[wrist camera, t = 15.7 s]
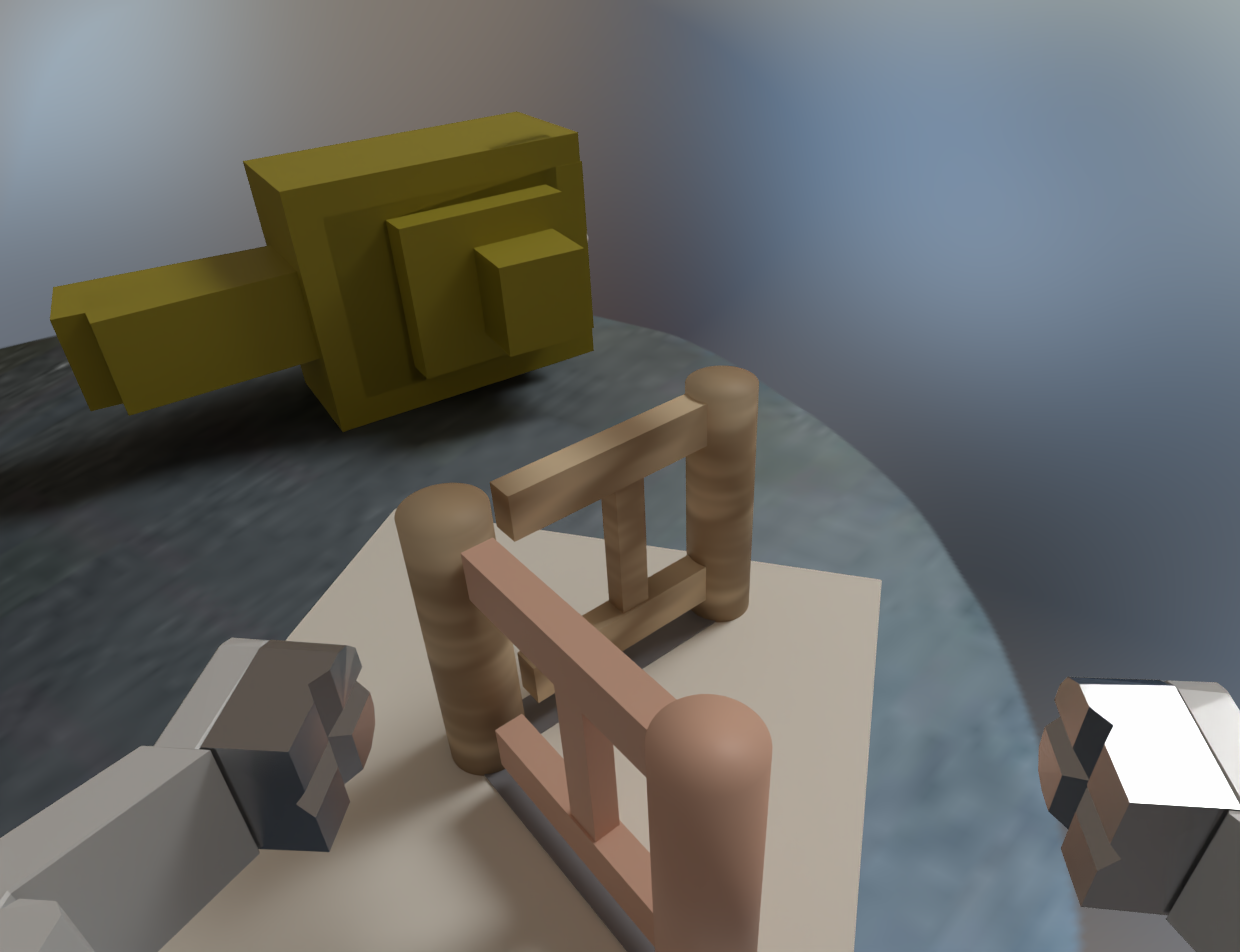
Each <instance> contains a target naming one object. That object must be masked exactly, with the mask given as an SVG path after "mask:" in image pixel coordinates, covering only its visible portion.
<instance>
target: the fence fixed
mask: <svg viewBox="0 0 1240 952" xmlns="http://www.w3.org/2000/svg"><path fill="white" fill-rule="evenodd" d="M758 392H759V381H758V379H757V377H756V376H755V375H754V374H752V373H751V372H749V371H747V370H745V369H742V368H738V367H732V366H712V367H706V368H702V369H699V370H697V371H695V372H693V373H691V374H690V375H689V376H688V377H687V379H686V381H685V394H684V395H682V396H679V397H677V398H675V399H673V400H671V401H668V402H666V403H664V404H662V405H659V406H657V407H655V408H653V409H651V410H648V411H646V412H644V413H642V414H640V415H637V416H635V417H633V418H631V419H628V420H626V421H624V422H622V423H620V424H617V425H615V426H613V427H611V428H609V429H606V430H604V431H602V432H600V433H597V434H595V435H593V436H591V437H589V438H586V439H584V440H582V441H580V442H578V443H575V444H573V445H571V446H569V447H566V448H564V449H562V450H560V451H558V452H555V453H553V454H551V455H549V456H547V457H544V458H542V459H540V460H538V461H535V462H533V463H531V464H529V465H527V466H524V467H522V468H520V469H518V470H516V471H513V472H511V473H509V474H507V475H504V476H502V477H500V478H498V479H496V480H493V481H491V482H490V486H491V493H492V499H493V505H494V511H495V517H496V524H497V527H498V528H499V529H500V530H501V531H502V532H504V533H505V534H506V535H507V536H508V537H509V538H511V539H512V540H513V541H514V542H516V541H518V540H520V539H522V538H524V537H526V536H528V535H530V534H532V533H534V532H536V531H538V530H540V529H542V528H544V527H546V526H548V525H550V524H552V523H554V522H556V521H558V520H560V519H562V518H564V517H566V516H568V515H570V514H572V513H574V512H576V511H578V510H580V509H582V508H584V507H586V506H588V505H590V504H592V503H594V502H596V501H598V500H600V499H601V500H602V513H603V527H604V540H605V553H606V567H607V580H608V593H609V600H608V601H606V602H605V603H603V604H601V605H599V606H598V607H596V608H594V609H592V610H591V611H589V612H587V613H585V614H584V615H582V617H584V618H585V619H586V620H587V621H588V622H589V623H590V624H592V625H593V626H594V627H595V628H596V629H597V630H598V631H599V632H601V633H602V634H603V635H604V636H605V637H606V638H607V639H609V640H610V641H611V642H612V643H613V644H614V645H615V646H617V647H618V648H619V649H620V650H621V651H624V650H625V649H627V648H629V647H630V646H632V645H634V644H635V643H637V642H638V641H640V640H642V639H643V638H645V637H647V636H648V635H650V634H651V633H653V632H655V631H656V630H658V629H659V628H661V627H663V626H664V625H666V624H668V623H669V622H671V621H672V620H674V619H676V618H677V617H679V616H681V615H682V614H684V613H685V612H687V611H689V610H690V609H691V610H692V611H693V612H694V613H695V614H697V615H698V616H700V617H702V618H705V619H708V620H713V621H716V622H728V621H732V620H735V619H737V618H739V617H740V616H742V615H743V614H744V613H745V612H746V610H747V608H748V605H749V590H750V568H751V546H752V524H753V502H754V480H755V458H756V436H757V414H758ZM684 457H686V540H687V555H686V556H685V557H683V558H681V559H679V560H678V561H676V562H674V563H673V564H671V565H669V566H667V567H666V568H664V569H662V570H660V571H659V572H657V573H655V574H653V575H652V576H650V577H648V574H647V549H646V525H645V500H644V477H646V476H648V475H650V474H652V473H654V472H656V471H658V470H660V469H662V468H664V467H666V466H668V465H670V464H672V463H674V462H676V461H678V460H680V459H682V458H684ZM394 520H395V524H396V528H397V532H398V536H399V541H400V545H401V549H402V553H403V557H404V561H405V565H406V569H407V573H408V578H409V582H410V586H411V590H412V594H413V598H414V602H415V606H416V611H417V615H418V619H419V623H420V627H421V631H422V635H423V639H424V643H425V648H426V652H427V656H428V660H429V664H430V668H431V672H432V676H433V681H434V685H435V689H436V693H437V697H438V701H439V705H440V709H441V714H442V718H443V722H444V726H445V730H446V734H447V738H448V742H449V746H450V751H451V755H452V758H453V760H454V762H455V763H456V765H457V766H458V767H459V768H460V769H462V770H463V771H465V772H467V773H470V774H473V775H479V776H484V774H491V773H496V772H499V771H502V770H504V769H505V768H504V767H503V765H502V763H501V758H500V753H499V748H498V743H497V738H496V733H495V730H496V729H498V728H499V727H501V726H503V725H504V724H506V723H508V722H509V721H511V720H512V719H514V718H516V717H517V716H519V715H521V714H523V715H524V716H525V714H524V708H523V702H522V696H521V689H520V683H519V677H518V671H517V665H516V659H515V653H514V647H513V643H512V642H511V641H510V640H509V639H508V638H507V637H506V636H505V635H504V634H503V633H502V632H501V631H500V630H499V629H498V628H497V627H496V626H495V625H494V624H493V623H492V622H491V621H490V620H489V619H488V618H487V617H486V616H485V615H484V614H483V613H482V612H481V611H480V610H479V609H478V608H477V607H476V606H475V605H474V604H473V603H472V602H471V601H470V599H469V594H468V589H467V584H466V579H465V573H464V568H463V563H462V558H461V553H462V552H464V551H466V550H468V549H470V548H472V547H474V546H476V545H478V544H480V543H482V542H484V541H486V540H488V539H490V538H494V539H495V540H496V537H495V531H494V524H493V518H492V512H491V506H490V500H489V498H488V496H487V495H486V493H484V492H483V491H482V490H481V489H479V488H477V487H475V486H472V485H468V484H463V483H443V484H437V485H433V486H429V487H426V488H423V489H421V490H418V491H416V492H414V493H413V494H411V495H410V496H408V497H407V498H406V499H404V500H403V501H402V502H401V503H400V505H399V506H398V508H397V509H396V512H395V516H394ZM517 654H518V660H519V666H520V673H521V679H522V685H523V687H524V688H525V689H526V690H527V691H528V692H529V693H530V695H531V696H532V697H533V698H534V699H535V700H536V701H537V702H538V703H540V702H541V701H543V700H544V699H546V698H548V697H549V696H551V695H553V694H554V693H555V690H554V684H553V683H552V682H551V681H550V680H549V679H548V678H547V677H546V676H545V675H544V674H543V673H542V672H541V671H540V670H539V669H538V668H537V667H536V666H535V665H534V664H533V663H532V662H531V661H530V660H529V659H528V658H527V657H526V656H525V655H524V654H523V653H522V652H521V651H519V652H518V653H517Z"/></svg>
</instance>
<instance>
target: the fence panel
mask: <svg viewBox="0 0 1240 952" xmlns="http://www.w3.org/2000/svg"><path fill="white" fill-rule="evenodd" d="M461 558H462V563H463V568H464V573H465V579H466V584H467V589H468V594H469V599H470V601H471V602H472V603H473V604H474V605H475V606H476V607H477V608H478V609H479V610H480V611H481V612H482V613H483V614H484V615H485V616H486V617H487V618H488V619H489V620H490V621H491V622H492V623H493V624H494V625H495V626H496V627H497V628H498V629H499V630H500V631H501V632H502V633H503V634H504V635H505V636H506V637H507V638H508V639H509V640H510V641H511V642H512V643H513V644H514V645H515V646H516V647H517V648H518V649H519V650H520V651H521V652H522V653H523V654H524V655H525V656H526V657H527V658H528V659H529V660H530V661H531V662H532V663H533V664H534V665H535V666H536V667H537V668H538V669H539V670H540V671H541V672H542V673H543V674H544V675H545V676H546V677H547V678H548V679H549V680H550V681H551V682H552V683H553V684H554V690H555V697H556V705H557V712H558V720H559V727H560V735H561V743H562V750H563V758H564V759H563V758H562V757H561V756H560V754H559V753H558V752H557V751H556V750H555V749H554V748H553V747H552V746H551V745H550V744H549V742H548V741H547V740H546V739H545V738H544V737H543V736H542V735H541V734H540V733H539V732H538V730H537V729H536V728H535V727H534V726H533V725H532V724H531V723H530V722H529V721H528V720H527V718H526V717H525V716H524V715H523V714H521V715H519V716H517V717H516V718H514V719H512V720H511V721H509V722H508V723H506V724H504V725H503V726H501V727H499V728H498V729H496V730H495V733H496V738H497V743H498V748H499V753H500V758H501V763H502V765H503V767H504V768H505V769H506V770H507V771H508V773H509V774H510V775H511V776H512V777H513V779H514V780H515V781H516V782H517V783H518V785H519V786H520V787H521V788H522V789H523V791H524V792H525V793H526V794H527V795H528V797H529V798H530V799H531V800H532V801H533V803H534V804H535V805H536V806H537V807H538V809H539V810H540V811H541V812H542V813H543V814H544V816H545V817H546V818H547V819H548V820H549V822H550V823H551V824H552V825H553V826H554V828H555V829H556V830H557V831H558V832H559V834H560V835H561V836H562V837H563V838H564V840H565V841H566V842H567V843H568V844H569V846H570V847H571V848H572V849H573V850H574V852H575V853H576V854H577V855H578V856H579V858H580V859H581V860H582V861H583V862H584V863H585V865H586V866H587V867H588V868H589V869H590V871H591V872H592V873H593V874H594V875H595V877H596V878H597V879H598V880H599V881H600V883H601V884H602V885H603V886H604V887H605V889H606V890H607V891H608V892H609V893H610V895H611V896H612V897H613V898H614V899H615V901H616V902H617V903H618V904H619V905H620V907H621V908H622V909H623V910H624V911H625V912H626V914H627V915H628V916H629V917H630V918H631V920H632V921H633V922H634V923H635V924H636V926H637V927H638V928H639V929H640V930H641V932H642V933H643V934H644V935H645V936H646V938H647V939H648V940H649V941H650V942H651V944H652V945H653V946H654V947H655V952H757V948H758V935H759V922H760V908H761V895H762V882H763V869H764V855H765V842H766V829H767V816H768V802H769V789H770V776H771V763H772V739H771V736H770V732H769V730H768V728H767V726H766V724H765V723H764V721H763V720H762V719H761V718H760V716H759V715H758V714H757V713H756V712H754V711H753V710H752V709H751V708H749V707H748V706H747V705H745V704H743V703H741V702H739V701H737V700H735V699H732V698H729V697H726V696H721V695H714V694H697V695H691V696H686V697H683V698H680V699H675V698H674V697H673V696H672V695H671V694H670V693H669V692H668V691H666V690H665V689H664V688H663V687H662V686H661V685H660V684H658V683H657V682H656V681H655V680H654V679H653V678H652V677H651V676H649V675H648V674H647V673H646V672H645V671H644V670H643V669H641V668H640V667H639V666H638V665H637V664H636V663H635V662H634V661H632V660H631V659H630V658H629V657H628V656H627V655H626V654H624V653H623V652H622V651H621V650H620V649H619V648H618V647H617V646H615V645H614V644H613V643H612V642H611V641H610V640H609V639H607V638H606V637H605V636H604V635H603V634H602V633H601V632H599V631H598V630H597V629H596V628H595V627H594V626H593V625H592V624H590V623H589V622H588V621H587V620H586V619H585V618H584V617H582V616H581V615H580V614H579V613H578V612H577V611H576V610H575V609H573V608H572V607H571V606H570V605H569V604H568V603H567V602H565V601H564V600H563V599H562V598H561V597H560V596H559V595H558V594H556V593H555V592H554V591H553V590H552V589H551V588H550V587H548V586H547V585H546V584H545V583H544V582H543V581H542V580H541V579H539V578H538V577H537V576H536V575H535V574H534V573H533V572H531V571H530V570H529V569H528V568H527V567H526V566H525V565H524V564H522V563H521V562H520V561H519V560H518V559H517V558H516V557H514V556H513V555H512V554H511V553H510V552H509V551H508V550H507V549H505V548H504V547H503V546H502V545H501V544H500V543H499V542H497V541H496V540H495V539H494V538H490V539H488V540H486V541H484V542H482V543H480V544H478V545H476V546H474V547H472V548H470V549H468V550H466V551H464V552H462V553H461ZM613 745H614V746H615V747H616V748H617V749H618V750H619V751H620V752H621V753H622V754H623V755H624V756H625V757H626V758H627V759H628V760H629V761H630V762H631V763H632V764H633V765H634V766H635V767H636V768H637V769H638V770H639V771H640V772H641V773H642V774H643V775H644V776H645V777H646V782H647V802H648V822H649V841H650V853H649V852H648V850H647V849H646V848H645V847H644V846H643V845H642V844H641V843H640V842H639V841H638V840H637V838H636V837H635V836H634V835H633V834H632V833H631V832H630V831H629V830H628V829H627V828H626V826H625V825H624V824H623V823H622V822H621V821H620V820H619V809H618V796H617V784H616V772H615V759H614V747H613Z"/></svg>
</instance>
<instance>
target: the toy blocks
mask: <svg viewBox="0 0 1240 952" xmlns="http://www.w3.org/2000/svg"><path fill="white" fill-rule="evenodd" d="M243 163H244V166H245V170H246V174H247V177H248V181H249V184H250V188H251V191H252V195H253V198H254V202H255V206H256V209H257V213H258V216H259V220H260V223H261V227H262V230H263V234H264V237H265V240H266V244H267V246H265V247H260V248H255V249H249V250H245V251H240V252H235V253H229V254H224V255H219V256H213V257H208V258H203V259H198V260H192V261H187V262H182V263H177V264H172V265H167V266H161V267H156V268H151V269H146V270H141V271H136V272H130V273H125V274H120V275H115V276H109V277H104V278H99V279H94V280H89V281H84V282H78V283H73V284H68V285H63V286H58V287H53V296H52V305H51V315H50V321H51V323H52V326H53V328H54V330H55V332H56V335H57V337H58V339H59V341H60V344H61V346H62V348H63V350H64V353H65V355H66V357H67V359H68V361H69V364H70V366H71V368H72V370H73V373H74V375H75V377H76V379H77V382H78V384H79V386H80V388H81V390H82V393H83V395H84V397H85V399H86V402H87V404H88V406H89V408H90V411H93V410H98V409H102V408H106V407H110V406H114V405H118V404H124V406H125V408H126V410H127V413H128V415H129V416H130V415H133V414H137V413H140V412H143V411H147V410H150V409H153V408H157V407H160V406H163V405H167V404H170V403H173V402H177V401H180V400H183V399H187V398H190V397H193V396H197V395H200V394H203V393H207V392H210V391H213V390H217V389H220V388H223V387H227V386H230V385H233V384H237V383H240V382H243V381H247V380H250V379H253V378H257V377H260V376H263V375H267V374H270V373H273V372H277V371H280V370H283V369H287V368H290V367H293V366H297V365H301V368H302V372H303V376H304V379H305V382H306V384H307V385H308V386H309V388H310V389H311V390H312V392H313V393H314V394H315V396H316V397H317V398H318V400H319V401H320V402H321V404H322V405H323V406H324V408H325V409H326V410H327V412H328V413H329V414H330V416H331V417H332V418H333V420H334V421H335V422H336V424H337V425H338V426H339V428H340V429H341V430H342V432H345V431H348V430H351V429H354V428H357V427H360V426H363V425H366V424H369V423H372V422H375V421H378V420H382V419H385V418H388V417H391V416H394V415H397V414H400V413H403V412H406V411H409V410H412V409H415V408H419V407H422V406H425V405H428V404H431V403H434V402H437V401H440V400H443V399H446V398H449V397H452V396H455V395H459V394H462V393H465V392H468V391H471V390H474V389H477V388H480V387H483V386H486V385H489V384H492V383H496V382H499V381H502V380H505V379H508V378H511V377H514V376H517V375H520V374H523V373H526V372H529V371H533V370H536V369H539V368H542V367H545V366H548V365H551V364H554V363H557V362H560V361H563V360H566V359H570V358H572V357H575V356H578V355H582V354H585V353H588V352H591V351H594V350H593V336H592V328H594V326H593V312H592V299H591V298H592V297H591V283H590V269H589V255H588V243H587V242H588V235H587V227H586V213H585V200H584V185H583V171H582V161H580V156H579V142H578V132H575V131H572V130H569V129H566V128H563V127H560V126H558V125H554V124H551V123H549V122H546V121H543V120H540V119H537V118H534V117H531V116H528V115H526V114H523V113H520V112H513V113H506V114H501V115H496V116H490V117H484V118H479V119H474V120H468V121H463V122H457V123H451V124H446V125H441V126H435V127H430V128H424V129H418V130H413V131H407V132H402V133H396V134H391V135H385V136H380V137H374V138H369V139H364V140H358V141H352V142H347V143H341V144H336V145H330V146H324V147H319V148H314V149H308V150H302V151H297V152H291V153H286V154H281V155H275V156H269V157H264V158H258V159H253V160H247V161H243Z"/></svg>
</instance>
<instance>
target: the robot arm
mask: <svg viewBox="0 0 1240 952" xmlns="http://www.w3.org/2000/svg"><path fill="white" fill-rule="evenodd" d="M361 669H362V664H361V662H360V659H359V656H358V653H357V651H356V648H355V647H351V646H348V645H337V644H323V643H309V642H295V641H281V640H258V639H243V638H231V639H229V640H228V641H226V642H225V643H223V644H222V645H220V646H219V647H218V649H217V650H216V652H215V653H214V655H213V656H212V658H211V659H210V661H209V663H208V664H207V666H206V667H205V669H204V670H203V672H202V673H201V675H200V676H199V678H198V679H197V681H196V682H195V684H194V685H193V687H192V688H191V690H190V691H189V693H188V694H187V696H186V697H185V699H184V701H183V702H182V704H181V705H180V707H179V708H178V710H177V711H176V713H175V714H174V716H173V717H172V719H171V720H170V722H169V723H168V725H167V726H166V728H165V729H164V731H163V732H162V734H161V735H160V737H159V739H158V740H157V742H156V743H155V745H154V746H140V747H139V748H137V749H136V750H134V751H133V752H131V753H130V754H128V755H127V756H125V757H124V758H122V759H121V760H119V761H118V762H116V763H114V764H113V765H111V766H110V767H108V768H107V769H105V770H104V771H102V772H101V773H99V774H98V775H96V776H95V777H93V778H92V779H90V780H89V781H87V782H85V783H84V784H82V785H81V786H79V787H78V788H76V789H75V790H73V791H72V792H70V793H69V794H67V795H66V796H64V797H63V798H61V799H59V800H58V801H56V802H55V803H53V804H52V805H50V806H49V807H47V808H46V809H44V810H43V811H41V812H40V813H38V814H37V815H35V816H33V817H32V818H30V819H29V820H27V821H26V822H24V823H23V824H21V825H20V826H18V827H17V828H15V829H14V830H12V831H11V832H9V833H8V834H6V835H4V836H3V837H1V838H0V952H158V951H159V950H160V949H161V948H162V947H163V946H164V945H165V944H166V943H167V942H168V941H170V940H171V939H172V938H173V937H174V936H175V935H176V934H177V933H178V932H179V931H180V930H181V929H182V928H183V927H184V926H185V925H186V924H187V923H188V922H189V921H190V920H191V919H192V918H193V917H194V916H195V915H197V914H198V913H199V912H200V911H201V910H202V909H203V908H204V907H205V906H206V905H207V904H208V903H209V902H210V901H211V900H212V899H213V898H214V897H215V896H216V895H217V894H218V893H219V892H220V891H221V890H222V889H223V888H225V887H226V886H227V885H228V884H229V883H230V882H231V881H232V880H233V879H234V878H235V877H236V876H237V875H238V874H239V873H240V872H241V871H242V870H243V869H244V868H245V867H246V866H247V865H248V864H249V863H250V862H252V861H253V860H254V859H255V858H256V857H257V856H258V855H259V854H260V851H259V849H268V850H291V851H315V852H330V850H331V847H332V845H333V842H334V840H335V837H336V835H337V833H338V830H339V828H340V825H341V823H342V820H343V818H344V816H345V813H346V811H347V808H348V806H349V803H350V800H349V797H348V794H347V791H346V788H345V785H344V784H346V783H347V782H348V781H349V780H351V779H352V778H353V777H354V776H356V775H357V774H358V773H359V772H360V771H362V770H363V769H364V766H365V764H366V761H367V758H368V756H369V753H370V750H371V747H372V741H373V735H374V729H375V712H374V704H373V700H372V697H371V694H370V692H369V691H368V690H367V689H366V688H365V687H363V686H362V685H361V684H360V683H359V682H357V681H356V680H357V678H358V675H359V673H360V671H361ZM1055 703H1056V705H1057V708H1058V711H1059V713H1060V717H1059V718H1058V719H1056V720H1054V721H1053V722H1051V723H1050V724H1048V725H1047V726H1045V728H1044V732H1043V735H1042V738H1041V742H1040V745H1039V766H1038V771H1039V777H1040V783H1041V789H1042V793H1043V796H1044V799H1045V802H1046V805H1047V808H1048V811H1049V812H1050V813H1051V814H1052V815H1053V816H1054V817H1055V818H1056V819H1057V820H1058V821H1060V822H1061V823H1062V824H1063V825H1064V826H1065V827H1066V828H1067V829H1068V832H1067V834H1066V837H1065V839H1064V842H1063V844H1062V847H1061V850H1062V853H1063V856H1064V859H1065V862H1066V865H1067V868H1068V871H1069V874H1070V877H1071V879H1072V882H1073V885H1074V888H1075V891H1076V894H1077V897H1078V900H1079V903H1080V906H1081V907H1088V908H1099V909H1109V910H1119V911H1129V912H1139V913H1150V914H1160V915H1168V916H1167V918H1166V920H1167V921H1168V922H1169V923H1170V924H1171V925H1172V926H1173V927H1174V929H1175V930H1176V931H1177V932H1178V933H1179V934H1180V935H1181V936H1182V937H1183V938H1184V940H1185V941H1187V943H1188V944H1189V945H1190V946H1191V947H1192V948H1193V949H1194V950H1195V951H1196V952H1240V711H1239V709H1238V708H1237V706H1236V704H1235V703H1234V701H1233V699H1232V698H1231V696H1230V694H1229V693H1228V692H1227V690H1226V689H1225V688H1223V687H1222V686H1221V685H1219V684H1218V683H1216V682H1214V683H1213V682H1190V681H1161V680H1146V679H1117V678H1087V677H1067V678H1066V679H1065V680H1064V681H1063V682H1062V683H1061V684H1060V687H1059V689H1058V692H1057V694H1056V697H1055Z"/></svg>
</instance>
